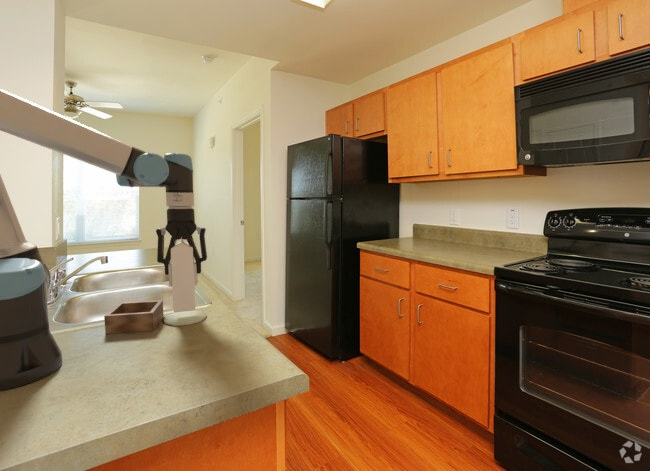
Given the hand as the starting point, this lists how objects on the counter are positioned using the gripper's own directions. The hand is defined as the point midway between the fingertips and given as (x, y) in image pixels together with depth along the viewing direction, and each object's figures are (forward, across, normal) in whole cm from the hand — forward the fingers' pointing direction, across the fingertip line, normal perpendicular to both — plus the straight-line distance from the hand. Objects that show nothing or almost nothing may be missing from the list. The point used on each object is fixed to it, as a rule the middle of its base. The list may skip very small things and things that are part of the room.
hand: (183, 284), depth 104 cm
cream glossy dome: (+11, 0, 0) cm, 11 cm away
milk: (+8, 0, 0) cm, 8 cm away
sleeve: (+11, -13, -2) cm, 17 cm away
